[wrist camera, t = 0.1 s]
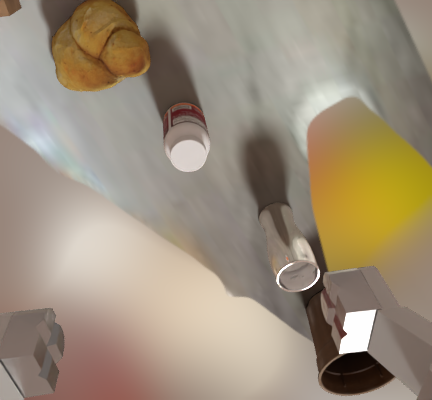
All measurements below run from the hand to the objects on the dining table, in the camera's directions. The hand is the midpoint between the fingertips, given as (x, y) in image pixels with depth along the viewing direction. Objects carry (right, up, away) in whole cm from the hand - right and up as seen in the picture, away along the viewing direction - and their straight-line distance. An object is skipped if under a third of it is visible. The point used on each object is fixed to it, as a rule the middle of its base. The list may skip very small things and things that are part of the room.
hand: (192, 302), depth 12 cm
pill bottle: (-4, +15, +48) cm, 51 cm away
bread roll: (-15, +24, +41) cm, 49 cm away
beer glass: (+11, 0, +60) cm, 61 cm away
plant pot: (+26, -20, +76) cm, 83 cm away
